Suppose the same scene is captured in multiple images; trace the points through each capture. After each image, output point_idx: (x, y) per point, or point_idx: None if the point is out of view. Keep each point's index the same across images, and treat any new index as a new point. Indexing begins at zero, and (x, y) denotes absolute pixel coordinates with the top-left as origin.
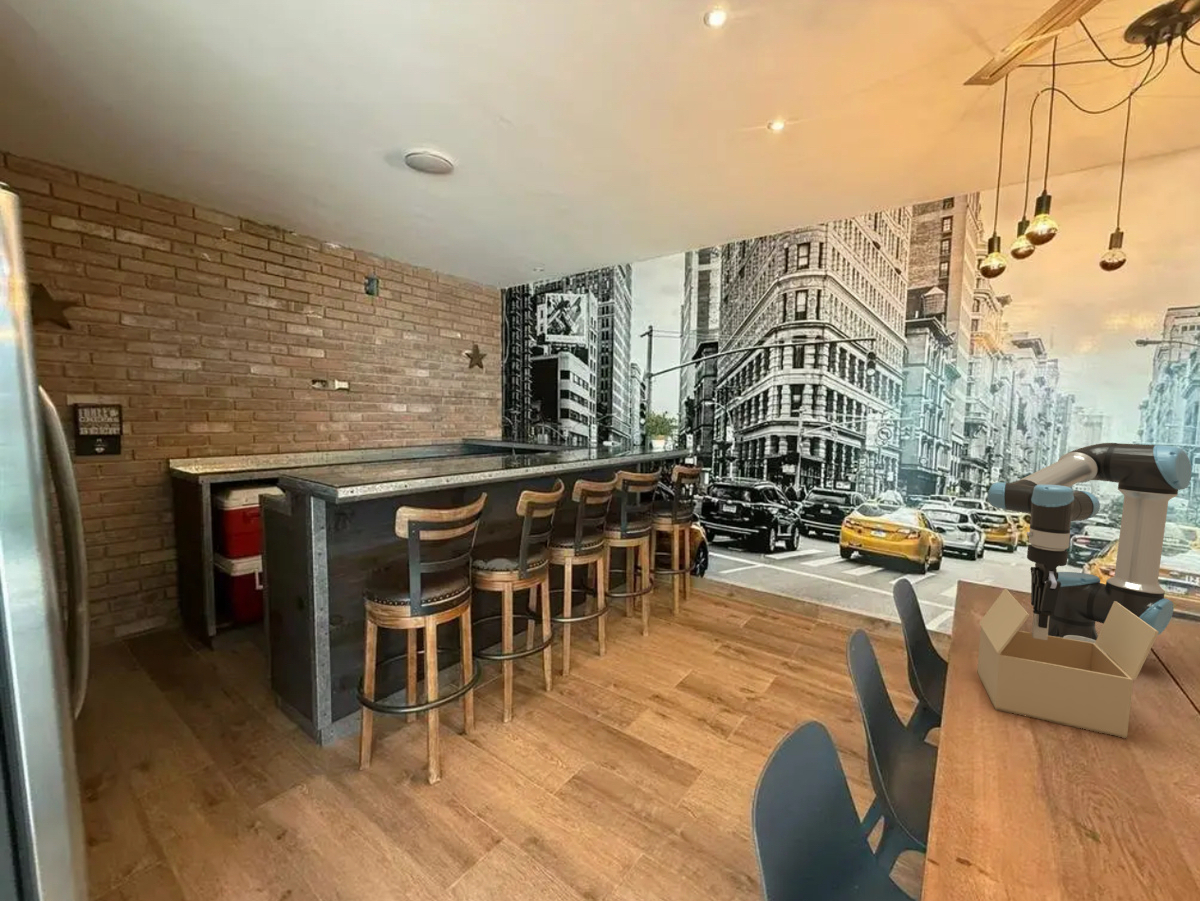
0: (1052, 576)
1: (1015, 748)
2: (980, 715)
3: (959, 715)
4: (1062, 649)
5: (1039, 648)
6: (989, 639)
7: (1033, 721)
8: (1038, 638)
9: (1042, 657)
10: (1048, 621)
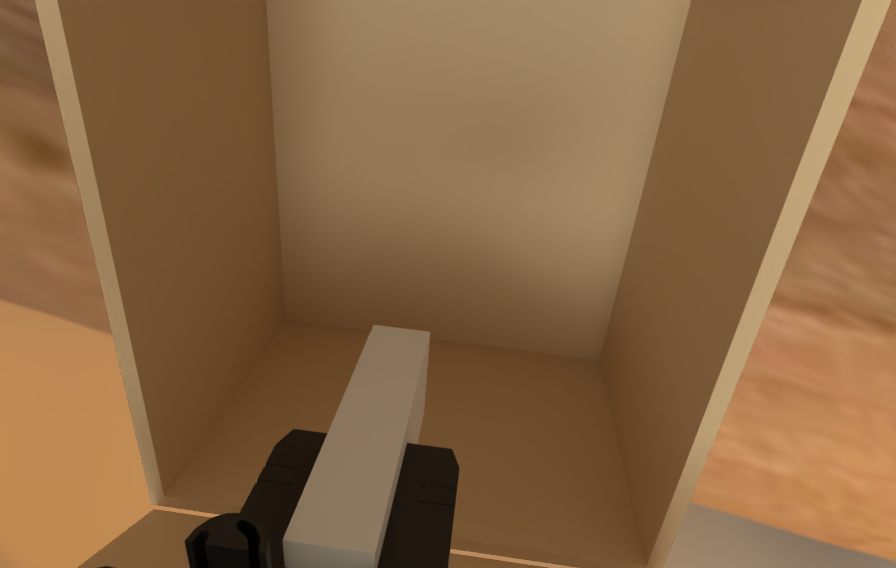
0: None
1: (880, 394)
2: None
3: None
4: (133, 17)
5: (169, 163)
6: None
7: None
8: (425, 388)
9: (200, 126)
10: (393, 479)
